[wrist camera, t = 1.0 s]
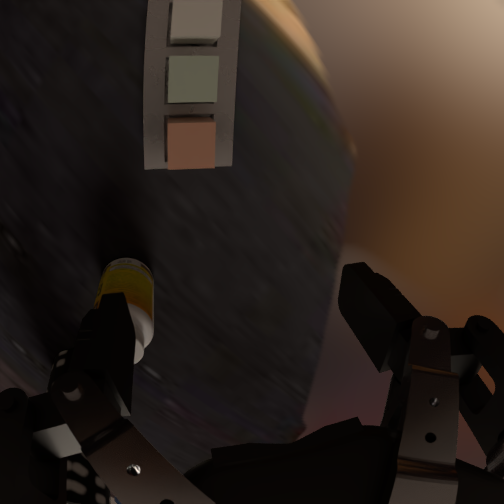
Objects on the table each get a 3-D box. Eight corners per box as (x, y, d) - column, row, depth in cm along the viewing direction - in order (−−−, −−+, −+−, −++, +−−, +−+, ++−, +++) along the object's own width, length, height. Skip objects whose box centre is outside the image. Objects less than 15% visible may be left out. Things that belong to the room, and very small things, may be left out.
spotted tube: (87, 341, 34) (70, 497, 17) (124, 380, 39) (128, 519, 22) (42, 358, 34) (16, 496, 17) (79, 394, 38) (72, 521, 21)
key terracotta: (168, 157, 24) (167, 169, 21) (168, 117, 23) (167, 123, 19) (208, 155, 25) (214, 168, 22) (209, 116, 24) (216, 122, 20)
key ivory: (170, 44, 20) (170, 36, 17) (173, 7, 18) (173, -7, 15) (212, 43, 21) (220, 36, 17) (215, 7, 19) (223, -6, 16)
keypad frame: (147, 161, 26) (144, 169, 24) (150, 6, 20) (148, -3, 17) (225, 157, 28) (231, 165, 26) (233, 7, 21) (241, -1, 19)
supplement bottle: (100, 254, 30) (80, 322, 21) (154, 256, 31) (153, 325, 23) (104, 299, 32) (92, 371, 23) (153, 301, 34) (155, 373, 25)
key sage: (168, 100, 22) (167, 102, 19) (169, 60, 21) (169, 56, 17) (209, 99, 23) (216, 101, 19) (211, 60, 21) (219, 56, 18)
